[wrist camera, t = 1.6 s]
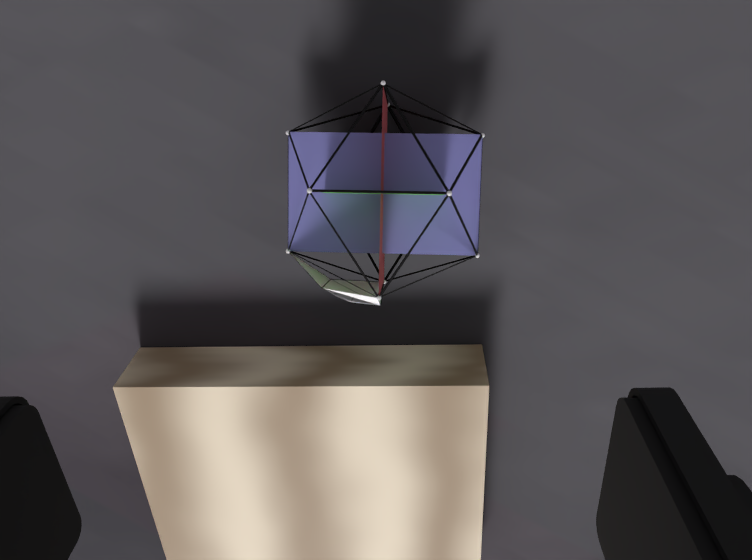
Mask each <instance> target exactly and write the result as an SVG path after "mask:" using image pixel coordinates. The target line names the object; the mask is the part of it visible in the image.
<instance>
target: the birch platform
mask: <svg viewBox="0 0 752 560" xmlns="http://www.w3.org/2000/svg"><path fill="white" fill-rule="evenodd" d="M113 390H114V393H115V396H116V399H117V402H118V406H119V409H120V412H121V415H122V418H123V421H124V425H125V428H126V431H127V434H128V437H129V441H130V444H131V447H132V450H133V453H134V457H135V460H136V463H137V466H138V469H139V472H140V476H141V479H142V482H143V485H144V488H145V492H146V495H147V498H148V501H149V504H150V508H151V511H152V514H153V517H154V520H155V524H156V527H157V530H158V533H159V536H160V539H161V543H162V546H163V549H164V552H165V555H166V559H167V560H481V541H482V521H483V501H484V481H485V461H486V441H487V421H488V401H489V381H488V376H487V370H486V364H485V359H484V353H483V347H482V344H471V345H362V346H252V347H142V348H139V350H138V351H137V353H136V354H135V356H134V357H133V359H132V360H131V362H130V363H129V365H128V366H127V367H126V369H125V370H124V372H123V373H122V375H121V376H120V378H119V379H118V381H117V382H116V383H115V385H114V386H113Z"/></svg>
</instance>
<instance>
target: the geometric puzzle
mask: <svg viewBox="0 0 752 560" xmlns="http://www.w3.org/2000/svg"><path fill="white" fill-rule="evenodd" d="M378 86H379V88H378V89H377V91H376V92H375V93H374V95H373V96H372V98H371V99H370V101H369V102H368V104H367V105H366V107H365V108H364V109H363V111H361V112H357V113H354V114H350V115H346V116H343V117H339V118H335V119H332V120H328V121H324V122H321V123H317V124H314V125H310V126H306V127H303V128H299V129H296V128H298V127H300V126H302V125H304V124H306V123H308V122H310V121H312V120H314V119H316V118H318V117H320V116H322V115H323V114H322V115H320V116H318V117H316V118H314V119H312V120H310V121H308V122H306V123H304V124H302V125H300V126H298V127H296V128H295V130H294V129H293V130H291V131H286V134H287V135H288V249H287V250H286V252H287V253H290V252H291V253H290V254H291V255H292V256H293V257H294V258H295V259H296V261H297V262H298V263H299V264H300V265H301V266H302V267H303V268H304V269H305V270H306V271H307V273H308V274H309V275H310V276H311V277H312V278H313V279H314V280H315V281H316V282H317V284H318V285H319V286H320V287H321V288H323V289H325V290H327V291H329V292H331V293H332V294H333V295H335V296H337V297H339V298H341V299H344V300H346V301H348V302H352V303H361V304H370V305H380V306H381V303H382V296H385V295H387V294H389V293H392V292H394V291H396V290H399V289H401V288H403V287H406V286H408V285H410V284H413V283H415V282H417V281H420V280H422V279H424V278H427V277H429V276H431V275H434V274H436V273H438V272H436V273H434V274H431V275H429V276H427V277H424V278H422V279H420V280H417V281H415V282H413V283H410V284H408V285H406V286H403V287H401V288H399V289H396V290H394V291H392V292H389V293H387V294H385V295H382V294H383V293H384V291H385V290H386V288H387V287H388V285H389V284H390V282H391V281H392V280H393V279H397V278H400V277H404V276H407V275H411V274H414V273H418V272H422V271H425V270H429V269H432V268H436V267H439V266H443V265H447V264H450V263H454V262H457V261H461V260H464V259H467V260H469V259H471V258H473V257H476V258H478V257H479V256H480V255H479V254H478V244H479V219H480V194H481V168H482V143H483V138H484V137H485V134H484V133H479V132H477V131H475V130H473V129H471V128H469V127H467V126H466V125H464V124H462V123H460V122H458V121H456V120H454V119H452V118H450V117H448V116H446V115H444V114H442V113H440V112H438V111H436V110H435V109H433V108H431V107H429V106H427V105H425V104H423V103H421V102H419V101H417V100H415V99H413V98H411V97H409V96H407V95H405V94H403V93H402V92H400V91H398V90H396V89H394V88H392V87H390V86H388V85H386V82H385V81H384V80H383V81H381V84H380V85H378ZM378 86H376V87H378ZM386 86H387V87H389V88H391V89H393V90H395V91H397V92H399V93H401V94H403V95H405V96H407V97H409V98H411V99H413V100H415V101H417V102H419V103H420V104H422V105H424V106H426V107H428V108H430V109H432V110H434V111H436V112H438V113H440V114H442V115H444V116H446V117H448V118H450V119H452V120H454V121H455V122H457V123H459V124H461V125H463V126H465V127H467V128H469V129H471V130H473V131H471V130H468V129H465V128H461V127H458V126H455V125H452V124H449V123H445V122H442V121H439V120H436V119H433V118H430V117H426V116H423V115H420V114H417V113H414V112H410V111H407V110H404V109H401V108H399V107H398V105H397V103H396V102H395V100H394V98H393V97H392V95H391V93H390V92H389V90H388V88H387V87H386ZM376 87H374V88H376ZM374 88H372V89H374ZM381 88H382V90H383V101H382V106H379V107H376V108H372V109H368V110H366V109H367V108H368V106H369V105H370V104H371V102H372V101H373V99H374V98H375V96H376V95H377V93H378V92H379V90H380V89H381ZM372 89H370V90H372ZM370 90H368V91H370ZM368 91H366V92H368ZM366 92H364V93H366ZM386 92H387V94H388V95H389V97H390V99H391V100H392V102H393V104H394V105H395V107H394V106H391V105H390V103H388V99H387V95H386ZM364 93H362V94H364ZM362 94H360V95H362ZM360 95H358V96H360ZM358 96H356V97H358ZM356 97H355V98H356ZM355 98H353V99H355ZM353 99H351V100H353ZM351 100H349V101H351ZM349 101H347V102H349ZM347 102H345V103H347ZM345 103H343V104H345ZM343 104H341V105H343ZM341 105H339V106H341ZM339 106H337V107H339ZM337 107H335V108H337ZM391 107H392V108H395V109H397V110H398V112H399V114H400V115H401V117H402V118H403V120H404V122H405V123H406V125H407V127H408V128H409V130H410V132H411V133H405V132H404V131H403V129H402V127H401V125H400V123H399V122H398V120H397V118H396V116H395V114H394V113H393V111H392V109H391ZM335 108H333V109H335ZM378 108H382V113H381V115H380V116H379V118H378V120H377V122H376V123H375V125H374V127H373V128H372V130H371V132H370V133H351V131H352V130H353V128H354V127H355V125H356V124H357V122H358V121H359V120H360V118H361V117H362V115H363V114H364V112H367V111H371V110H375V109H378ZM333 109H331V110H333ZM387 109H388V110H389V111H390V113H391V115H392V117H393V119H394V120H395V122H396V124H397V126H398V128H399V129H400V131H401V133H387ZM331 110H329V111H331ZM329 111H327V112H329ZM401 111H405V112H408V113H411V114H414V115H417V116H420V117H424V118H427V119H430V120H433V121H436V122H439V123H443V124H446V125H449V126H452V127H455V128H459V129H462V130H465V131H468V132H471V133H474V134H415V133H414V131H413V130H412V128H411V126H410V125H409V123H408V121H407V120H406V118H405V117H404V115H403V113H402V112H401ZM327 112H325V113H327ZM325 113H324V114H325ZM360 113H361V114H360ZM356 114H360V115H359V117H358V118H357V120H356V121H355V123H354V124H353V125H352V127H351V128H350V130H349V131H348V133H339V132H295V131H298V130H302V129H305V128H309V127H313V126H316V125H320V124H324V123H327V122H331V121H335V120H338V119H342V118H345V117H349V116H353V115H356ZM381 118H382V133H373V132H374V130H375V129H376V127H377V125H378V124H379V122H380V120H381ZM474 131H475V132H474ZM293 251H305V252H348V253H349V255H350V256H351V258H352V259H353V261H354V262H355V264H356V265H357V267H358V269H359V270H360V272H361V273H362V274H361V273H358V272H355V271H351V270H348V269H345V268H342V267H339V266H336V265H333V264H330V263H327V262H324V261H320V260H317V259H314V258H311V257H308V256H305V255H302V254H299V253H296V252H293ZM292 253H293V254H294V253H295V254H294V255H293V254H292ZM351 253H367V254H368V256H369V258H370V259H371V261H372V263H373V265H374V267H375V268H376V270H377V272H378V274H379V279H376V278H373V277H370V276H367V275H365V274H364V273H363V271H362V270H361V268H360V267H359V265H358V263H357V262H356V260H355V259H354V257H353V256H352V254H351ZM370 253H379V270H378V268H377V266H376V264H375V262H374V260H373V259H372V257H371V255H370ZM384 253H391V254H400V255H399V257H398V258H397V260H396V261H395V263H394V265H393V266H392V268H391V269H390V271H389V272H388V274H387V276H386V277H385V279H384ZM296 254H298V255H301V256H304V257H307V258H310V259H313V260H316V261H319V262H323V263H326V264H329V265H332V266H335V267H338V268H341V269H344V270H347V271H351V272H354V273H357V274H360V275H363V276H364V278H365V279H366V281H356V280H344V279H343V280H338V279H330V278H328V277H327V276H325V275H324V274H322V273H321V272H319V271H318V270H316V269H314V268H313V267H311V266H310V265H308V264H307V263H305V262H304V261H302V260H301V259H299V258H298V257H300V256H298V255H296ZM402 254H407V255H406V256H405V258H404V259H403V260H402V262H401V263H400V265H399V266H398V268H397V269H396V271H395V272H394V274H393V275H392V277H391V278H390V279H389V280H387V278H388V276H389V275H390V273H391V272H392V270H393V269H394V267H395V265H396V264H397V262H398V261H399V259H400V258H401V256H402ZM409 254H434V255H474V256H470V257H467V258H463V259H460V260H456V261H453V262H449V263H445V264H442V265H438V266H435V267H431V268H428V269H424V270H421V271H417V272H414V273H410V274H406V275H403V276H399V277H396V278H394V276H395V275H396V273H397V272H398V270H399V269H400V267H401V266H402V265H403V263H404V262H405V260H406V259H407V257H408V256H409ZM295 255H296V256H298V257H296V256H295ZM300 258H302V257H300ZM468 258H469V259H468ZM302 259H304V258H302ZM304 260H306V259H304ZM306 261H307V260H306ZM464 261H466V260H464ZM464 261H462V262H464ZM308 262H309V261H308ZM462 262H460V263H462ZM310 263H311V262H310ZM312 264H313V263H312ZM457 264H459V263H457ZM457 264H455V265H457ZM314 265H315V264H314ZM455 265H453V266H455ZM316 266H317V265H316ZM318 267H319V266H318ZM450 267H452V266H450ZM450 267H448V268H450ZM320 268H321V267H320ZM448 268H446V269H448ZM321 269H323V268H321ZM323 270H325V269H323ZM443 270H445V269H443ZM443 270H441V271H443ZM325 271H327V270H325ZM441 271H439V272H441ZM327 272H329V271H327ZM329 273H331V272H329ZM331 274H333V273H331ZM333 275H334V274H333ZM335 276H336V275H335ZM337 277H338V276H337ZM367 277H369V278H372V279H375V280H379V282H375V281H369V280H368V279H367ZM339 278H340V277H339ZM341 279H342V278H341ZM386 281H388V283H387V284H386V286H385V287H384V289H383V285H384V284H385V283H386Z"/></svg>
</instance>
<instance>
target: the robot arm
mask: <svg viewBox="0 0 752 560" xmlns="http://www.w3.org/2000/svg"><path fill="white" fill-rule="evenodd" d="M596 526H597V533H598V538H599V542H600V545H601V548H602V551H603V554H604V557H605V560H752V492H751V490H750V489H749V488H748V486H747V485H746V484H745V483H744V481H743V480H741V479H740V478H738V477H737V476H735V475H727V474H726V473H725V471H724V469H723V468H722V466H721V465H720V463H719V461H718V460H717V458H716V456H715V455H714V453H713V451H712V450H711V448H710V447H709V445H708V443H707V442H706V440H705V438H704V437H703V435H702V433H701V432H700V430H699V429H698V427H697V425H696V424H695V422H694V420H693V419H692V417H691V415H690V414H689V412H688V411H687V409H686V407H685V406H684V404H683V402H682V401H681V399H680V397H679V396H678V394H677V393H676V392H675V390H674V389H672V388H633V389H631V391H630V392H629V395H628V398H619V399H618V401H617V405H616V410H615V416H614V421H613V427H612V432H611V438H610V444H609V449H608V455H607V460H606V466H605V472H604V477H603V483H602V488H601V494H600V499H599V505H598V511H597V517H596ZM80 532H81V517H80V514H79V512H78V509H77V507H76V504H75V502H74V499H73V497H72V494H71V492H70V489H69V487H68V484H67V482H66V479H65V477H64V474H63V472H62V469H61V467H60V464H59V462H58V459H57V457H56V454H55V452H54V449H53V447H52V445H51V442H50V440H49V437H48V435H47V432H46V430H45V427H44V425H43V422H42V420H41V417H40V415H39V412H38V410H37V409H36V408H35V407H34V406H31V405H29V403H28V402H27V400H25V399H24V398H23V397H18V396H17V397H0V560H68V558H69V556H70V554H71V552H72V550H73V549H74V547H75V545H76V543H77V541H78V539H79V536H80Z"/></svg>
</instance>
